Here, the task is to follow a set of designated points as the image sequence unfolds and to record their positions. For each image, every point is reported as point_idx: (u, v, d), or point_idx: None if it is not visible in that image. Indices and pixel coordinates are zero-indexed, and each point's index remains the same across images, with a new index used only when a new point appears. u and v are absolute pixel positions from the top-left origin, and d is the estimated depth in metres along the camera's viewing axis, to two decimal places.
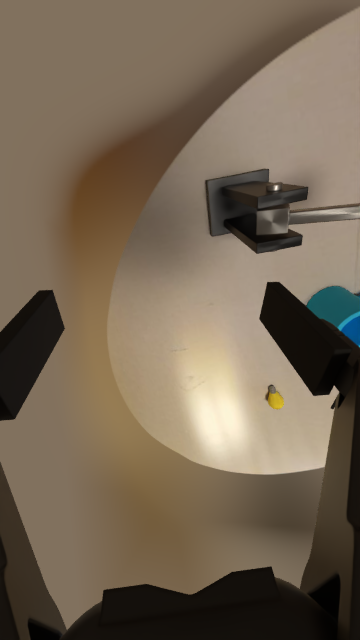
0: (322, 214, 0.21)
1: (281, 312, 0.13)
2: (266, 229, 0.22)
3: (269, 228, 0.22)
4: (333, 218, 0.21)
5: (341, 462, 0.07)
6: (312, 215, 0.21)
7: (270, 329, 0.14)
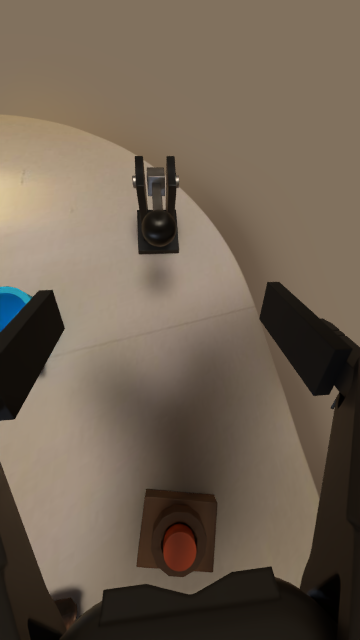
0: (157, 192, 0.28)
1: (281, 312, 0.13)
2: (150, 170, 0.30)
3: (151, 171, 0.30)
4: (154, 196, 0.28)
5: (341, 462, 0.07)
6: (157, 189, 0.29)
7: (270, 329, 0.14)
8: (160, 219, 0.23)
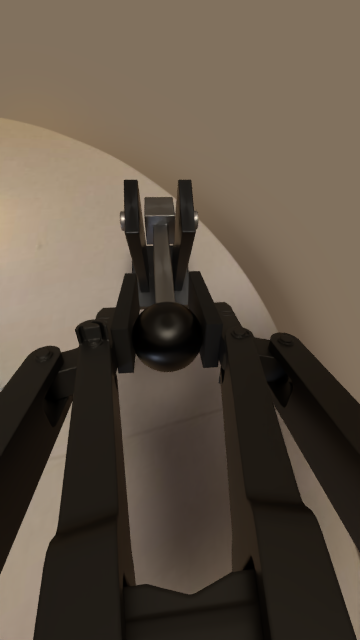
0: (163, 246, 0.16)
1: (193, 297, 0.15)
2: (150, 202, 0.18)
3: (151, 204, 0.18)
4: (158, 255, 0.15)
5: (233, 437, 0.07)
6: (162, 239, 0.16)
7: None
8: (171, 334, 0.10)
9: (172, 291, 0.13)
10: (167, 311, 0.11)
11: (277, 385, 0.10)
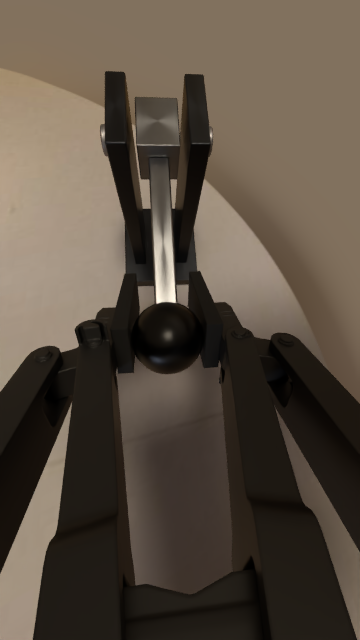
0: (163, 203, 0.12)
1: (193, 297, 0.15)
2: (144, 112, 0.12)
3: (146, 116, 0.12)
4: (156, 221, 0.12)
5: (233, 437, 0.07)
6: (162, 189, 0.12)
7: None
8: (173, 355, 0.10)
9: (174, 282, 0.12)
10: (168, 330, 0.10)
11: (277, 385, 0.10)
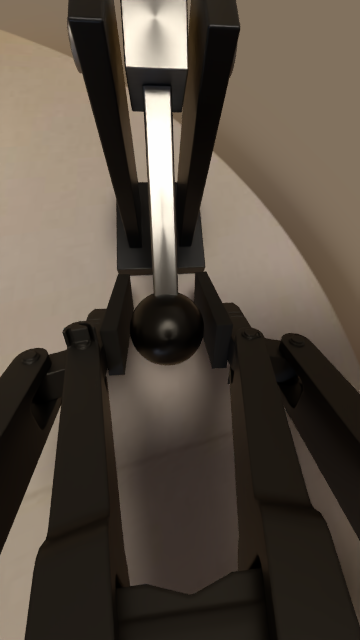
0: (163, 164, 0.09)
1: (200, 297, 0.15)
2: None
3: (137, 8, 0.08)
4: (155, 190, 0.10)
5: (242, 437, 0.07)
6: (161, 142, 0.09)
7: None
8: (173, 356, 0.10)
9: (175, 271, 0.10)
10: (169, 334, 0.10)
11: (287, 386, 0.10)
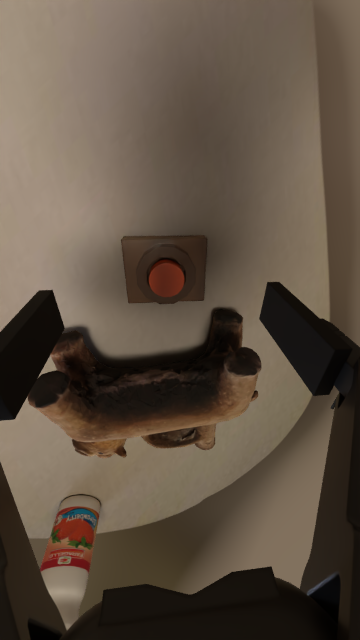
0: None
1: (281, 312, 0.13)
2: None
3: None
4: None
5: (341, 462, 0.07)
6: None
7: (270, 329, 0.14)
8: None
9: None
10: None
11: None
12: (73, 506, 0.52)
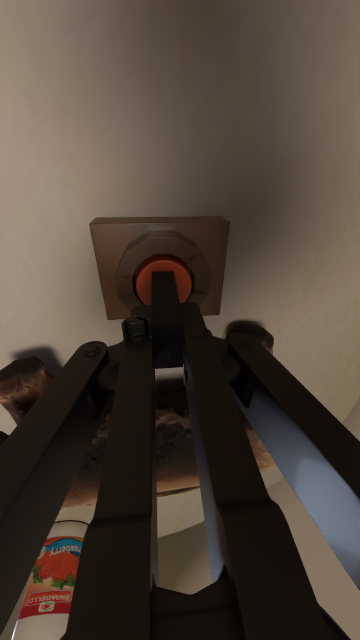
0: None
1: None
2: None
3: None
4: None
5: (200, 441, 0.07)
6: None
7: None
8: None
9: None
10: None
11: (239, 385, 0.10)
12: (58, 536, 0.46)
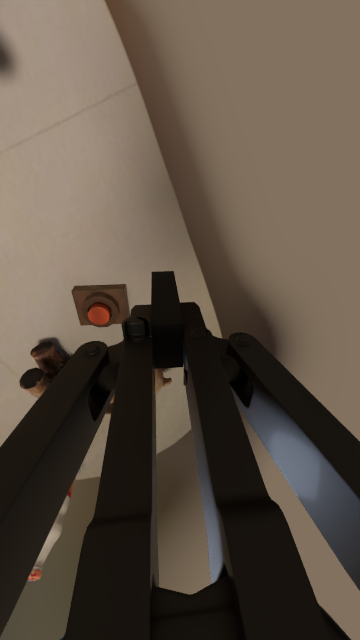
0: None
1: None
2: None
3: None
4: None
5: (200, 441, 0.07)
6: None
7: None
8: None
9: None
10: None
11: (239, 385, 0.10)
12: None
